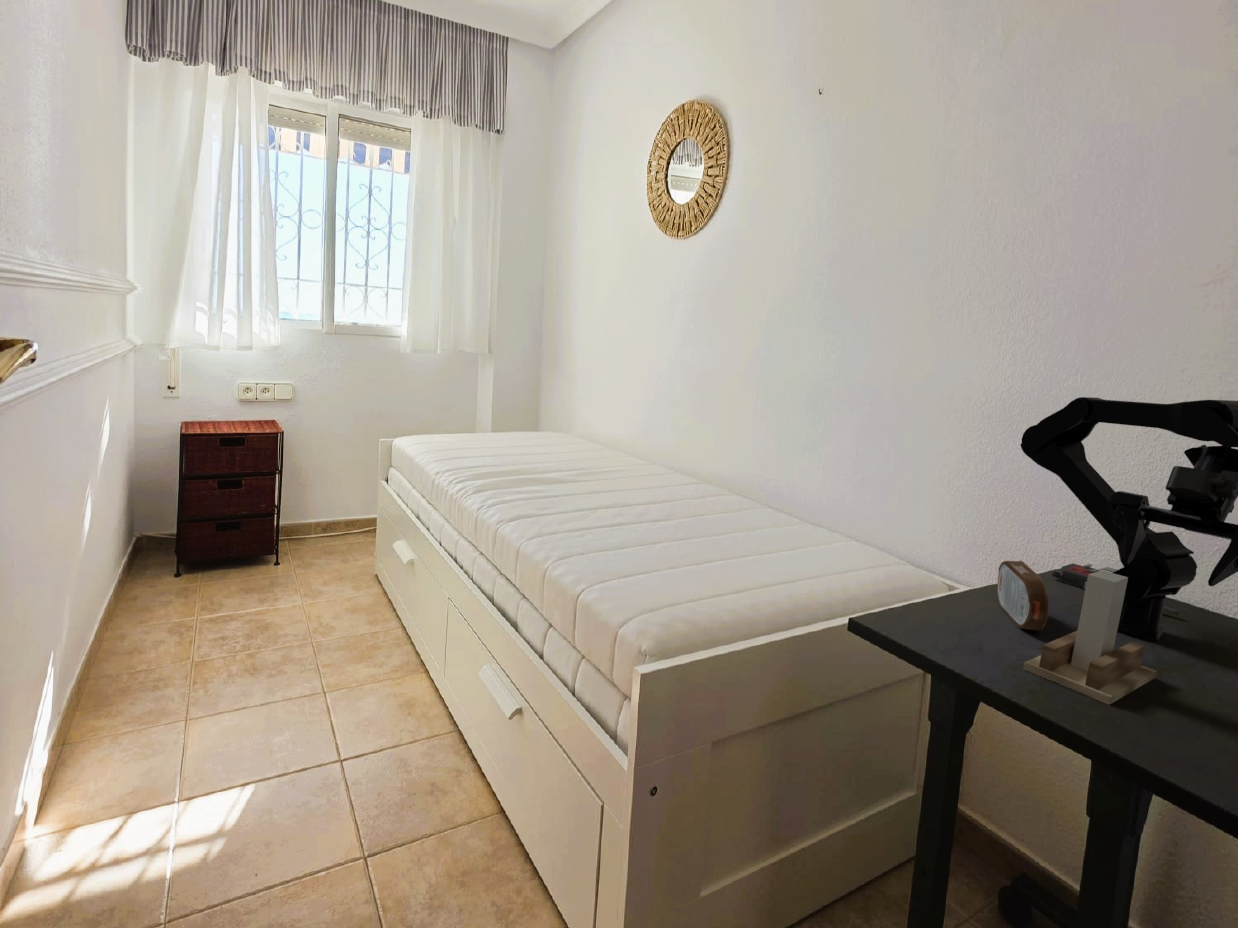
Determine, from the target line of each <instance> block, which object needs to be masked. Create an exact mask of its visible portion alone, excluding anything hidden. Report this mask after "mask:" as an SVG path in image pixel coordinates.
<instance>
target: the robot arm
mask: <svg viewBox="0 0 1238 928" xmlns="http://www.w3.org/2000/svg"><path fill="white" fill-rule="evenodd" d="M1099 423H1101V424H1102V423H1105V424H1112V425H1113V424H1114V425H1121V426H1123V425H1125V426H1133V427H1145V428H1153V429H1154V428H1155V429H1161V430H1164V431H1168V432H1171V433H1173V434H1176V435H1178V436H1183V437H1186V438H1190V439H1194V440H1197V441H1199V442H1200V441H1201V442H1215V443H1217V444H1219V445H1210V446H1209V445H1208V446H1207V444H1202V445H1200V446H1197V447H1191V448H1188V449H1186V450H1184V451H1183V453H1184V455H1185V456H1186V458H1187V459H1188V462H1189V463H1191V465H1192V466H1193V467H1187V466H1181V465H1180V466H1179V465H1175V466H1173V467H1172V470H1171V472H1170V475H1169V477H1168V481H1167V482H1166V485H1165V490H1166V491H1168V492H1169V494H1168V496H1167V498H1166V502H1167V505H1170V506H1171V508H1170V509H1167V508H1161V507H1158V506H1157V507H1156V506H1151V505H1150V501H1149V497H1148V495H1143V494H1139V493H1133V492H1128V491H1123V490H1119V491H1115V490H1114V489H1113V488H1112V487H1111V485H1110V484H1109V483H1108V482H1107V480H1105V479H1104V478H1103V477H1102V476H1101V475H1100V473H1099V472H1098V471H1097V470H1096V469H1095V468H1094V467H1093V466H1092V465H1091V464H1090V462H1089V461H1088V459H1087V456H1086V451H1085V446H1084V444H1083V442H1082V441H1084V440H1085V439H1087V438H1088V437H1089V436H1090V434H1091V433H1092V432H1093V430H1094V428H1096V426H1097V425H1098V424H1099ZM1020 448H1021V450H1022V452H1023V453H1024V454H1025V456H1027V457H1028V458H1029V459H1031V460H1032V461H1033V462H1034V463H1035V464H1037V466H1040V467H1042V468H1043V469H1045V470H1047V471H1049V472H1051V473H1052V474H1054V475H1056V476H1057V477H1059V479H1060V480H1061V481H1062V482H1063V483H1064V485H1065V486H1066V487H1067V488H1068V489H1069V490H1070V491H1071V492H1072V494H1073V495H1074V496H1075V497H1076V498H1077V499H1078V500H1079V502H1080V503H1081V504H1082V505H1083V506H1084V508H1085V509H1086V510H1087V511H1088V512H1089V513H1090V514H1091V516H1092V517H1094V519H1095V520H1096V521H1097V522H1098V523H1099V525H1100V526H1101V527H1102V529H1103V530H1104V531H1105V532H1106V533H1107V534H1108V535H1109V536H1110V537H1111V538H1112V540H1113V541H1114V542H1115V544H1116V546H1117V550H1118V555H1119V561H1120V562H1121V565H1122V566H1123V567H1121V568H1119V569H1117V571H1115V572H1112V573H1114V574H1118V575H1121V576H1125V577H1128V581H1127V586H1126V591H1125V595H1124V600H1123V605H1122V610H1121V615H1120V620H1119V625H1118V629H1117V632H1120V633H1125V634H1127V635H1132V636H1135V637H1139V638H1142V639H1146V640H1149V641H1153V642H1158V641H1159V639H1160V638H1161V637H1162V636H1163V633H1164V631H1165V628H1164V627H1162V626H1160V625H1161V621H1162V616H1163V613H1164V611H1163V608H1164V606H1165V602H1166V597H1167V596H1170V595H1172V596H1177V594H1178V593H1179V591H1180V590H1181V589H1182V588H1183V587H1186V586H1187V585H1190V584H1191V583H1192V582H1193V581H1194V580H1195V577H1196V576H1197V568H1198V565H1197V562H1196V560H1195V559H1194V557H1193V556H1192V555H1194V553H1195V552H1194V551H1193V550H1191V549H1189V548H1188V547H1187V546H1185V545H1184V543H1182V541H1181V539H1180V538H1179V537H1178V535H1176V533H1175V532H1173V531H1162V532H1161V531H1160V532H1159V531H1158V532H1156V531H1154V530H1152V529H1151V528H1149V527H1150V525H1151V522H1152V523H1156V524H1161V525H1165V526H1170V527H1175V528H1180V529H1184V530H1185V531H1188V532H1193V533H1198V534H1202V535H1207V536H1211V537H1216V538H1221V539H1224V540H1230V542H1229V545H1228V546H1227V548H1226V550H1225V551H1224V553H1223V554H1222V555H1221V558H1220V559H1219V561H1218V562H1217V564H1216V565H1215V567H1214V568H1213V570H1212V572H1211V573H1210V576H1209V578H1208V581H1207V584H1208V586H1209V587H1214V586H1216V585H1217V584H1219V583H1221V582H1223V581H1224V580H1226V579H1228V578H1229V577H1231V576H1232V575H1235V574H1236V573H1238V524H1235V523H1232V522H1231V523H1230V522H1225V521H1226V519H1227V518H1228V515H1229V514H1232V513H1233V510H1234V509H1235V502H1236V500H1237V499H1238V400H1231V399H1230V400H1225V399H1224V400H1223V399H1202V400H1191V401H1181V402H1174V403H1173V402H1172V403H1159V402H1158V403H1155V402H1141V401H1128V400H1114V399H1103V398H1100V397H1087V396H1085V397H1083V396H1081V397H1077V398H1075V399H1073V400H1071V401H1070V402H1069V403H1068V404H1066V405H1065V406H1064V407H1063V408H1061V409H1060V410H1057V411H1056V412H1054V413H1052V414H1050V415H1047V416H1046V417H1044V418H1043V419H1041V420H1040V421H1039V422H1038V423H1037V424H1034V425H1031V426H1029V427H1028V428H1026V430H1025V431H1024V432H1023V433H1022V437H1021V443H1020Z"/></svg>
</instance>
